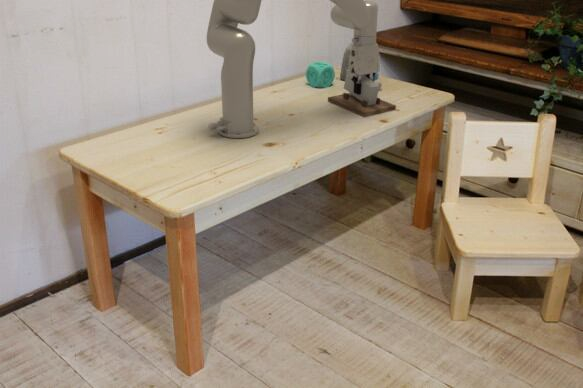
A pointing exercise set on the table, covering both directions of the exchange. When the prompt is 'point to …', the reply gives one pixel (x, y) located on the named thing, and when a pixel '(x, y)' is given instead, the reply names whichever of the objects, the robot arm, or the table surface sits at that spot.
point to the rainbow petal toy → (375, 79)
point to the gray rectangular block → (363, 89)
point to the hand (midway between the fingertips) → (362, 92)
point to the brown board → (361, 105)
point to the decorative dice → (320, 74)
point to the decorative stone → (345, 62)
